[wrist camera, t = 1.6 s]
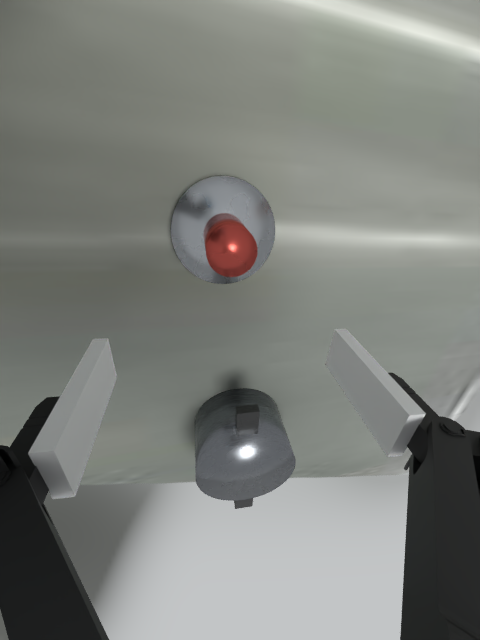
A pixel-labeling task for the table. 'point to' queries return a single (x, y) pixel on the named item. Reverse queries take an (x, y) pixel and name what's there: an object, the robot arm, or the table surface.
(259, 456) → the pot
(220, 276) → the lid
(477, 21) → the table surface
